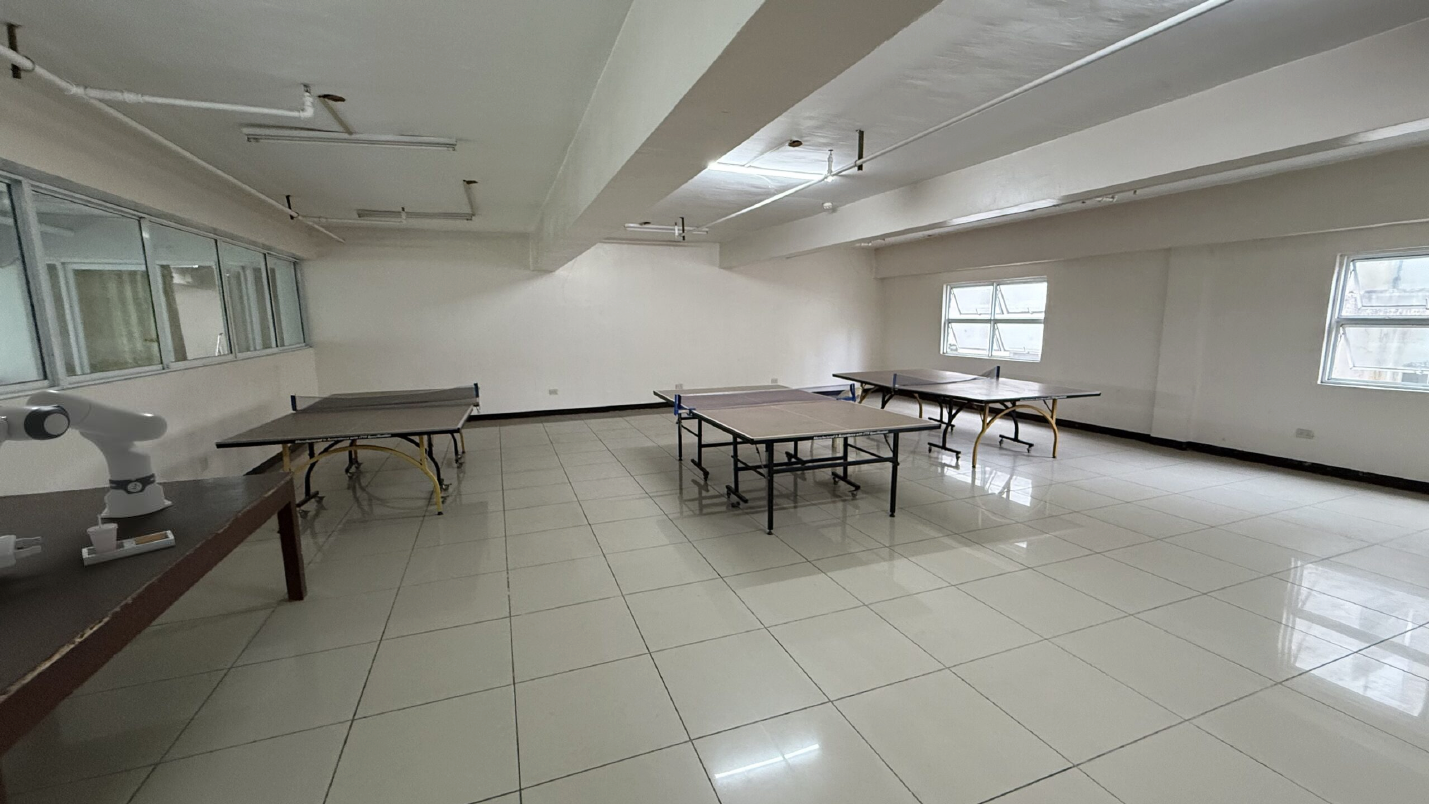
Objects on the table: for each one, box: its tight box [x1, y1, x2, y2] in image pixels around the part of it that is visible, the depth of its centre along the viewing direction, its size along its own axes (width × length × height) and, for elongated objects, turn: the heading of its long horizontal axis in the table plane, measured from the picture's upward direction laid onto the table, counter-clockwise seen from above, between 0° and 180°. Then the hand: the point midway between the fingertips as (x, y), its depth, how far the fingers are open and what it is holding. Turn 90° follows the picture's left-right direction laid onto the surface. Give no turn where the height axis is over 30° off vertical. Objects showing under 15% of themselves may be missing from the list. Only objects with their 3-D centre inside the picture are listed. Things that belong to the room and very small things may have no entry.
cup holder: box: [81, 530, 176, 566], centre depth 171 cm, size 10×20×2 cm, turn 142°
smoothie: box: [86, 513, 119, 554], centre depth 166 cm, size 6×6×14 cm
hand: (41, 543), depth 156 cm, fingers open, 8 cm apart
